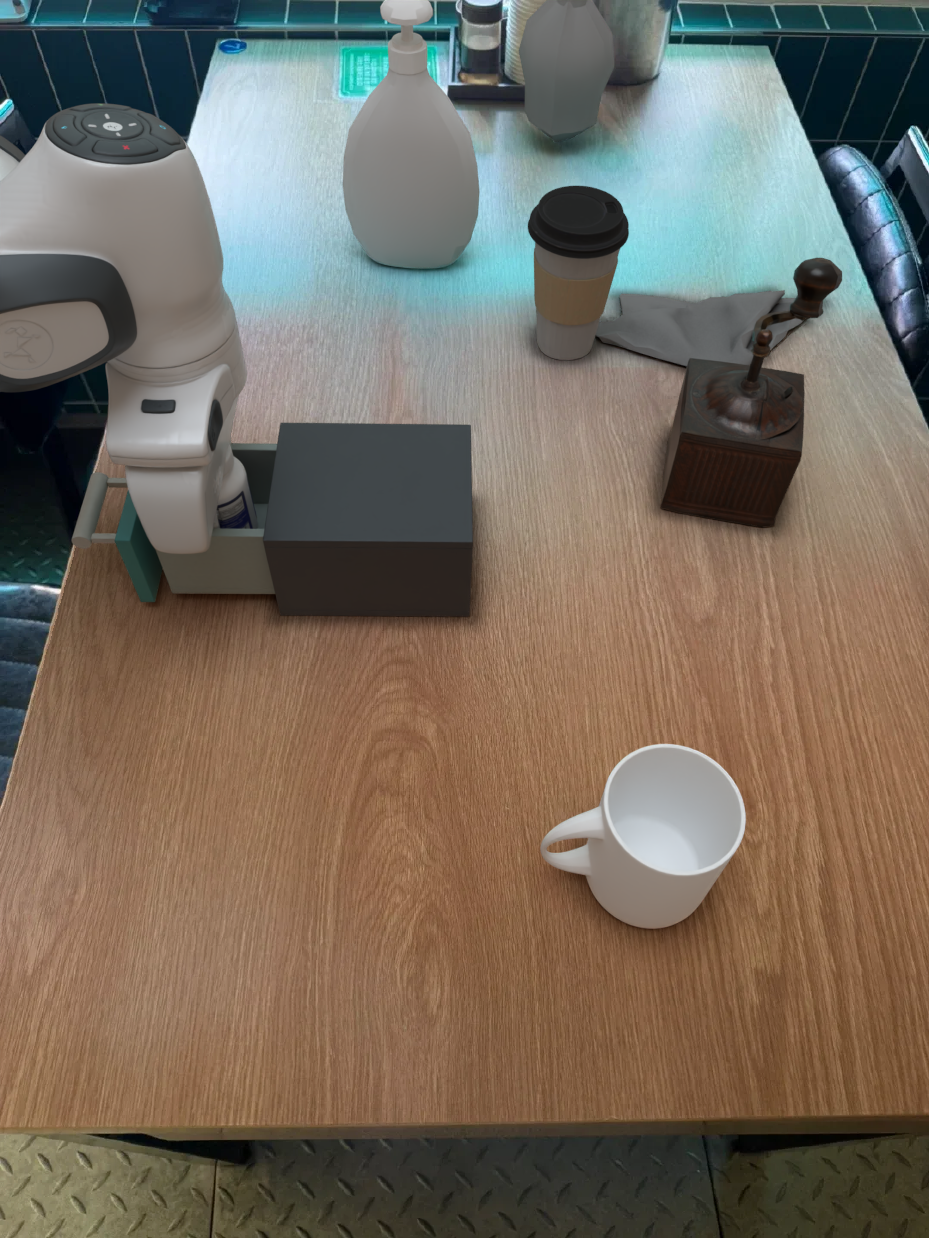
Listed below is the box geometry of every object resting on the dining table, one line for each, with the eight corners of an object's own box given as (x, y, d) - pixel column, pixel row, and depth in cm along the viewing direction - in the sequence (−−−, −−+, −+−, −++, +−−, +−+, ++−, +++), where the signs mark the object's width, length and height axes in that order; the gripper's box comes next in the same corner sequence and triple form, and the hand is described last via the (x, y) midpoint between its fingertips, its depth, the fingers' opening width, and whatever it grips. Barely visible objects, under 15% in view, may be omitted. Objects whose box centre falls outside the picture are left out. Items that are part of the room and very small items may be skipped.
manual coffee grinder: (781, 532, 84) (853, 372, 70) (657, 510, 85) (702, 348, 71) (784, 415, 93) (848, 251, 78) (671, 397, 94) (715, 232, 80)
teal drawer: (84, 602, 77) (52, 540, 71) (113, 498, 84) (86, 433, 77) (318, 603, 78) (308, 542, 71) (329, 500, 84) (320, 435, 78)
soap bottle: (479, 238, 109) (490, -27, 87) (474, 280, 105) (484, 12, 83) (354, 230, 110) (333, -36, 88) (344, 272, 105) (319, 2, 83)
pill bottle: (200, 503, 80) (177, 425, 73) (262, 506, 80) (245, 428, 73) (188, 552, 77) (162, 475, 70) (252, 554, 77) (233, 478, 70)
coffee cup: (627, 351, 98) (653, 218, 86) (555, 384, 95) (571, 251, 83) (571, 303, 103) (588, 170, 90) (500, 333, 99) (508, 199, 87)
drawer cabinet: (280, 615, 78) (262, 540, 70) (294, 501, 85) (280, 422, 77) (469, 616, 78) (472, 542, 70) (468, 503, 85) (470, 424, 78)
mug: (528, 816, 68) (541, 747, 59) (692, 810, 69) (729, 740, 60) (539, 937, 63) (555, 880, 54) (716, 929, 64) (760, 872, 55)
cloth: (599, 377, 96) (602, 359, 94) (582, 293, 104) (585, 275, 102) (850, 373, 97) (858, 355, 95) (815, 291, 105) (822, 273, 103)
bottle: (497, 147, 121) (511, -143, 97) (543, 111, 127) (568, -171, 102) (572, 175, 118) (607, -117, 93) (617, 138, 123) (661, -148, 98)
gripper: (158, 267, 70) (197, 409, 81) (98, 466, 58) (153, 600, 70) (244, 269, 70) (270, 410, 82) (201, 467, 58) (240, 600, 70)
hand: (216, 499), depth 75 cm, fingers closed on pill bottle, 5 cm apart
